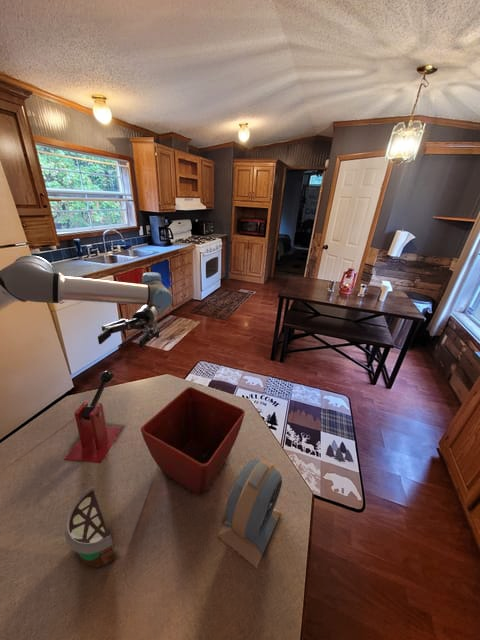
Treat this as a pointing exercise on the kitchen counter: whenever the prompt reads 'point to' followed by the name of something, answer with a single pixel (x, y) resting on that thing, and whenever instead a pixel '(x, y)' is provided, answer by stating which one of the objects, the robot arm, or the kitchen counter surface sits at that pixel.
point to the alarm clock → (252, 510)
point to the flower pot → (193, 437)
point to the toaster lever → (98, 393)
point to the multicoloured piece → (89, 532)
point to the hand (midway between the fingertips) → (120, 342)
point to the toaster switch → (92, 436)
